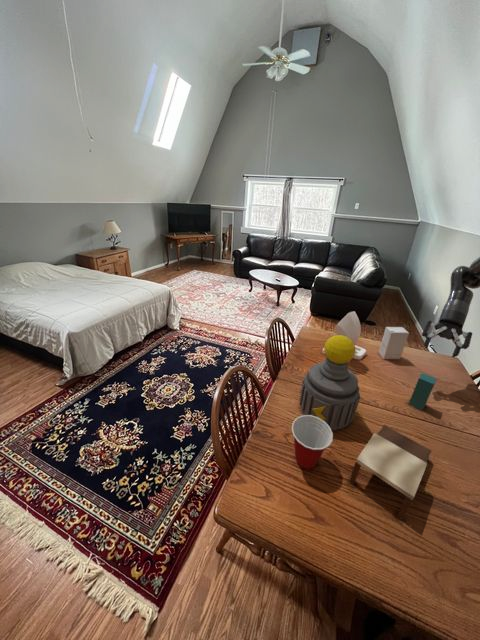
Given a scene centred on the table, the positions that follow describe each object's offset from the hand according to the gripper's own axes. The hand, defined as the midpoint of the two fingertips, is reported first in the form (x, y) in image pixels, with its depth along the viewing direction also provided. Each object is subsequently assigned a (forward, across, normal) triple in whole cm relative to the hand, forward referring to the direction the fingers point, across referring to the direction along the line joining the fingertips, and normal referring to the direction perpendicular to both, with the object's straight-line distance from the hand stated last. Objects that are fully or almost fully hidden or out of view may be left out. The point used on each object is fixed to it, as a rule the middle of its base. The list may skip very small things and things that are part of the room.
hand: (439, 352), depth 98 cm
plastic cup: (+54, -23, -29) cm, 65 cm away
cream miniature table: (+45, -3, -20) cm, 49 cm away
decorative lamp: (+39, -26, -12) cm, 48 cm away
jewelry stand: (+10, -33, +19) cm, 40 cm away
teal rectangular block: (+20, 0, +6) cm, 21 cm away
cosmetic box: (0, -16, +28) cm, 32 cm away
